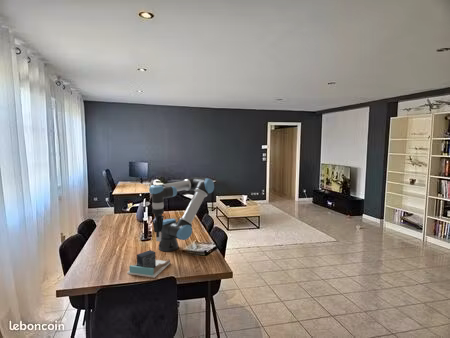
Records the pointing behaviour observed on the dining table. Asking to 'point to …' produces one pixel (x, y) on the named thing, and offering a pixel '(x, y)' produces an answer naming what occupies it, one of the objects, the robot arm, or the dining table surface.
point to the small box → (146, 259)
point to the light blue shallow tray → (148, 269)
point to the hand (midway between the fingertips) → (158, 241)
